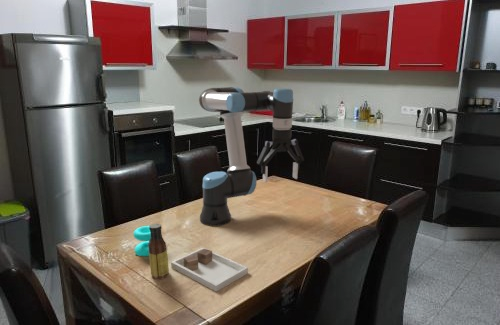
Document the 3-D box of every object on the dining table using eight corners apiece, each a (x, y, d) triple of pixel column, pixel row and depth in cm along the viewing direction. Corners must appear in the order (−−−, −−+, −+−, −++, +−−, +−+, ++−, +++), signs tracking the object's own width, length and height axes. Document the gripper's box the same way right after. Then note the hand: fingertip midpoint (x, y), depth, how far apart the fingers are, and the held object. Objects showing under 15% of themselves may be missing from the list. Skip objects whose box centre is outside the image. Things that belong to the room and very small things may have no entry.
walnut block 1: (183, 267, 145) (183, 257, 144) (193, 264, 147) (193, 254, 146) (188, 272, 142) (188, 262, 141) (198, 269, 144) (198, 259, 143)
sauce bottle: (170, 272, 143) (167, 221, 139) (167, 281, 137) (164, 229, 132) (152, 272, 143) (149, 221, 138) (148, 281, 137) (145, 229, 132)
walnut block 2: (197, 262, 149) (197, 252, 148) (204, 257, 152) (203, 248, 151) (206, 264, 147) (205, 255, 146) (212, 260, 150) (212, 251, 149)
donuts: (160, 232, 153) (134, 236, 150) (161, 255, 155) (136, 260, 152) (157, 223, 162) (132, 226, 159) (158, 245, 164) (133, 248, 161)
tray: (171, 269, 145) (171, 262, 145) (203, 254, 157) (203, 247, 156) (216, 293, 130) (216, 285, 129) (247, 275, 142) (247, 267, 141)
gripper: (256, 131, 145) (255, 185, 151) (314, 128, 155) (311, 179, 160) (249, 128, 152) (248, 180, 158) (305, 125, 161) (302, 174, 167)
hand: (280, 179), depth 159 cm, fingers open, 13 cm apart
